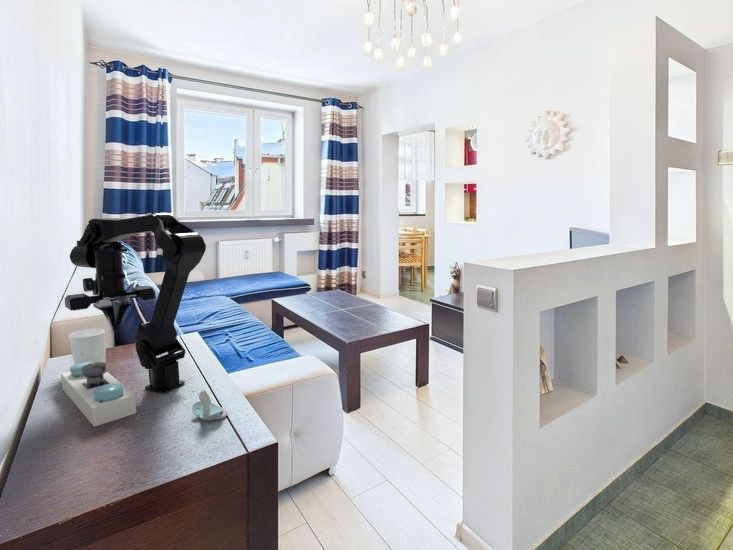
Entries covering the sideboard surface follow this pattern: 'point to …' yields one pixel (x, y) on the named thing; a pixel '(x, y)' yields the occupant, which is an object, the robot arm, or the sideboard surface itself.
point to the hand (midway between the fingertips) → (115, 330)
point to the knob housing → (95, 409)
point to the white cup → (88, 346)
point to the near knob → (108, 392)
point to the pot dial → (94, 374)
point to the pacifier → (207, 408)
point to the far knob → (78, 369)
